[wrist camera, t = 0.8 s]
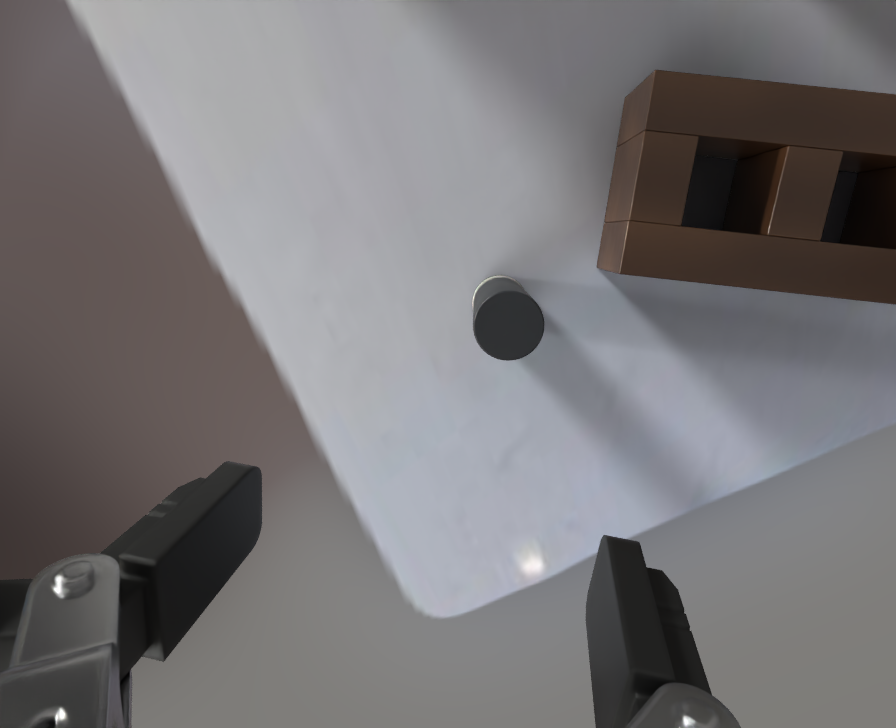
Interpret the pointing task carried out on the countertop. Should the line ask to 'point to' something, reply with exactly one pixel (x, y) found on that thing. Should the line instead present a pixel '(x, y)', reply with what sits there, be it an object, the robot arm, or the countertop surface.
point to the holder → (755, 186)
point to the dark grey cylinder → (506, 319)
